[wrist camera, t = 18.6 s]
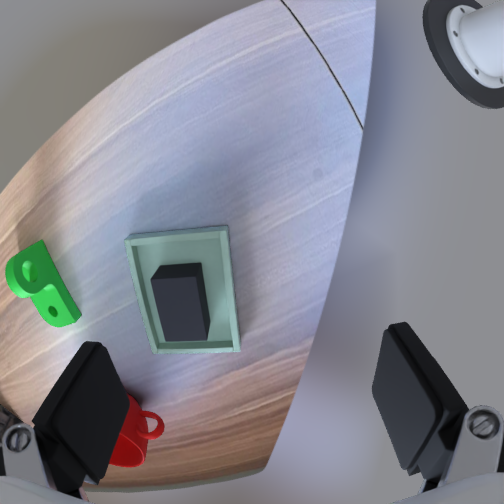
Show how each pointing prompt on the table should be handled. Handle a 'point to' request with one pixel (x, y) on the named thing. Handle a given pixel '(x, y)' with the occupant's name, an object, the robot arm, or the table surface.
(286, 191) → the table surface
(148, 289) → the mount tray
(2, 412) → the grey patterned box
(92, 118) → the table surface
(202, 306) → the black block
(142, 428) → the ceramic cup
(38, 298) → the mechanical part
